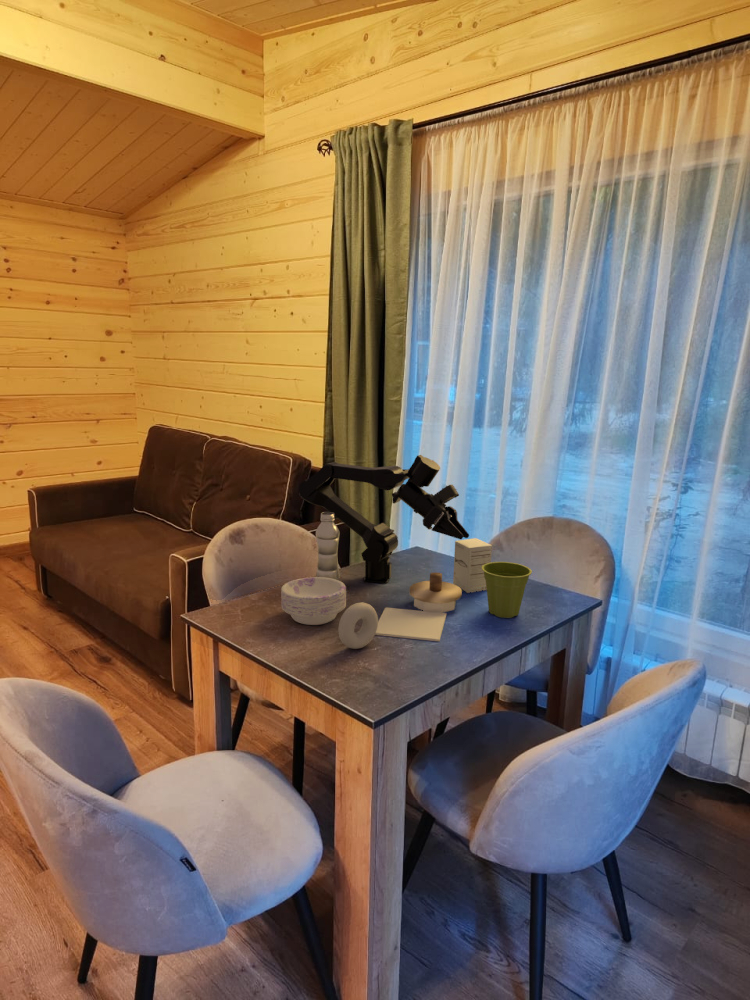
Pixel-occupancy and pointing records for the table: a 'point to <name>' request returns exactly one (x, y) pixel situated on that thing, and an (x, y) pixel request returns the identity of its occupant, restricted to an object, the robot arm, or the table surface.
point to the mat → (411, 624)
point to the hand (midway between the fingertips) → (465, 537)
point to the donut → (350, 620)
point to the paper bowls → (313, 599)
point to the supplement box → (471, 564)
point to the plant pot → (505, 587)
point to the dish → (434, 606)
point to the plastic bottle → (327, 547)
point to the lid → (435, 590)
